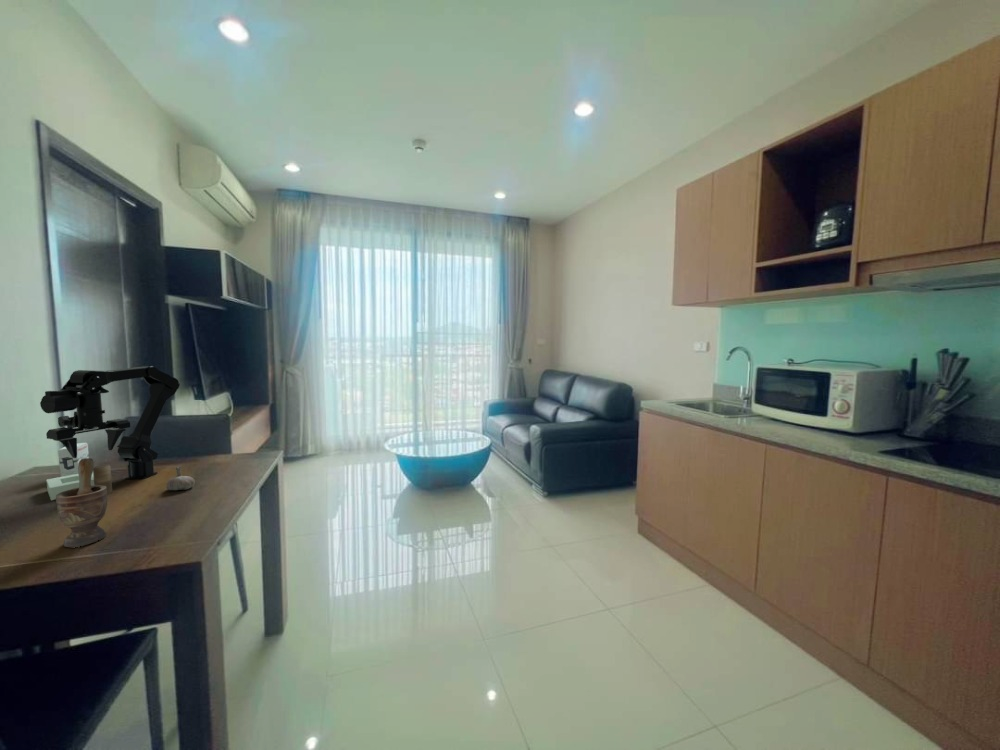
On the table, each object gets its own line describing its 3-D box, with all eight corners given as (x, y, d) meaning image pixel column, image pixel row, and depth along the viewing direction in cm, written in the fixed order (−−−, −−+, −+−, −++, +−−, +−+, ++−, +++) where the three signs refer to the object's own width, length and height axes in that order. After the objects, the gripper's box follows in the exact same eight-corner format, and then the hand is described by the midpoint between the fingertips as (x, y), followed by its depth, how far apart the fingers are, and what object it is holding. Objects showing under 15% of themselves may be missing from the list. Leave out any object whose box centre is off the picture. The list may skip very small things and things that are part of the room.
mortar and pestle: (54, 539, 97) (46, 463, 95) (102, 525, 104) (96, 455, 102) (64, 553, 91) (57, 472, 89) (114, 537, 98) (108, 462, 96)
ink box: (72, 473, 143) (69, 443, 142) (90, 471, 146) (88, 442, 145) (60, 481, 136) (57, 449, 135) (79, 479, 138) (76, 447, 137)
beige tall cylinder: (115, 491, 127) (113, 465, 127) (103, 495, 124) (101, 469, 123) (103, 491, 127) (101, 465, 127) (91, 495, 123) (89, 469, 123)
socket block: (99, 480, 136) (98, 470, 136) (105, 488, 129) (104, 477, 129) (47, 491, 127) (46, 479, 126) (50, 500, 120) (49, 488, 119)
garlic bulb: (161, 491, 128) (159, 468, 127) (185, 483, 135) (183, 462, 134) (176, 494, 125) (174, 471, 125) (200, 486, 132) (198, 464, 132)
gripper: (107, 402, 136) (111, 444, 137) (32, 411, 118) (37, 459, 119) (129, 404, 133) (132, 447, 134) (56, 413, 115) (60, 463, 117)
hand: (93, 453), depth 126 cm, fingers open, 9 cm apart
